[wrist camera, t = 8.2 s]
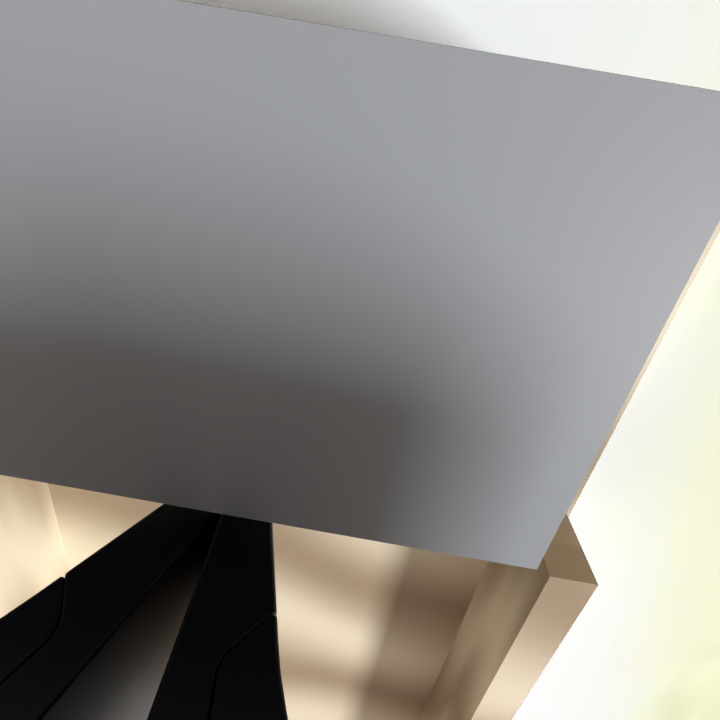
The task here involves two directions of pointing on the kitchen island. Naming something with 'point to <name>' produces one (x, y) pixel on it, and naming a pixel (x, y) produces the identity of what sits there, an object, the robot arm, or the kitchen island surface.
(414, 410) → the slate block
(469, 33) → the kitchen island surface
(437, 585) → the beige wooden tray
